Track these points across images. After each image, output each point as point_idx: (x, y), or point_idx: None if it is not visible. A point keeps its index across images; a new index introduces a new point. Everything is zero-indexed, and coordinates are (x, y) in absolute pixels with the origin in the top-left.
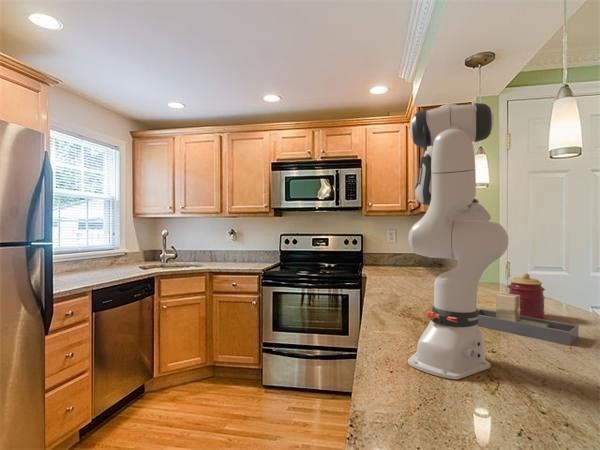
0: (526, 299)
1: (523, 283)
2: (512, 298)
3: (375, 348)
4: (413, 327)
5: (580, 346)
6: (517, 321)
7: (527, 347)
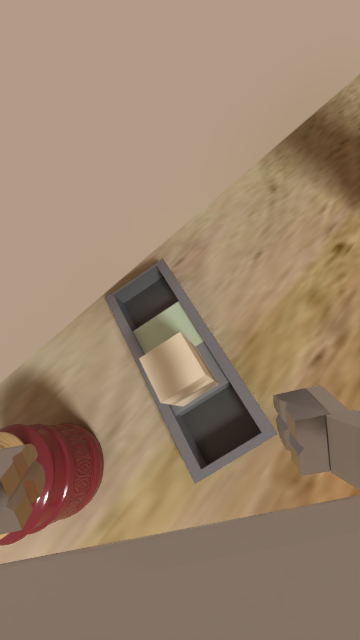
0: (63, 438)
1: None
2: (183, 336)
3: None
4: None
5: None
6: None
7: (252, 265)
